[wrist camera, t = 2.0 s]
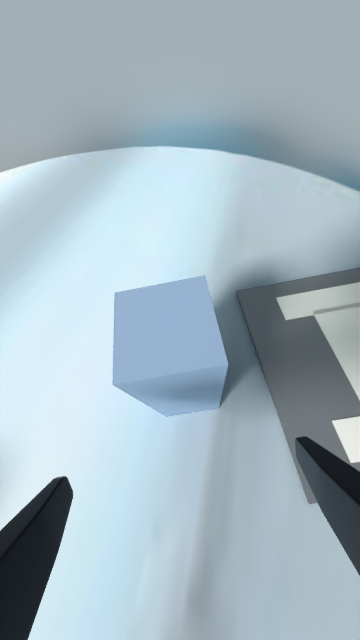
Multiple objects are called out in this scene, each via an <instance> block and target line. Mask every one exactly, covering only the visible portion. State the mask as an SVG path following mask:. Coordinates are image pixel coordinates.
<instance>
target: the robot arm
mask: <svg viewBox="0 0 360 640" xmlns="http://www.w3.org/2000/svg"><path fill="white" fill-rule="evenodd" d="M295 450H296V458H297V461H298V463H299V465H300V467H301V469H302V471H303V473H304V475H305V477H306V480H307V482H308V484H309V486H310V488H311V490H312V492H313V494H314V496H315V498H316V500H317V502H318V504H319V506H320V508H321V510H322V512H323V514H324V516H325V517H326V519H327V521H328V522H329V524H330V526H331V528H332V529H333V531H334V533H335V534H336V536H337V538H338V539H339V541H340V543H341V545H342V546H343V548H344V550H345V551H346V553H347V555H348V556H349V558H350V560H351V562H352V563H353V565H354V567H355V568H356V570H357V572H358V573H359V575H360V471H359V470H357V469H356V468H354V467H353V466H351V465H349V464H348V463H346V462H345V461H343V460H342V459H340V458H339V457H337V456H336V455H334V454H333V453H331V452H330V451H328V450H327V449H325V448H324V447H322V446H321V445H319V444H318V443H316V442H315V441H313V440H312V439H310V438H309V437H307V436H302V437H297V438H295ZM72 499H73V490H72V488H71V485H70V483H69V481H68V478H67V477H66V476H62V477H57V478H54V479H53V480H52V481H51V482H50V483H49V484H48V485H47V486H46V487H45V488H44V489H43V490H42V491H41V492H40V493H39V494H38V495H37V496H36V497H35V498H34V499H32V500H31V501H30V502H29V503H28V504H27V505H26V506H25V507H24V508H23V509H22V510H21V511H20V512H19V513H18V514H17V515H16V516H15V517H14V518H13V519H12V520H11V521H10V522H9V523H8V524H7V525H6V526H5V527H4V528H3V529H2V530H1V531H0V640H28V637H29V634H30V631H31V628H32V625H33V623H34V620H35V617H36V614H37V611H38V608H39V605H40V603H41V600H42V597H43V594H44V591H45V588H46V585H47V582H48V580H49V577H50V574H51V571H52V568H53V565H54V562H55V560H56V556H57V553H58V550H59V547H60V544H61V540H62V537H63V533H64V529H65V525H66V522H67V518H68V514H69V510H70V507H71V503H72Z"/></svg>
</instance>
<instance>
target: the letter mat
mask: <svg viewBox="0 0 360 640" xmlns="http://www.w3.org/2000/svg"><path fill="white" fill-rule="evenodd" d="M236 294H237V297H238V300H239V302H240V305H241V308H242V311H243V314H244V317H245V320H246V323H247V326H248V329H249V332H250V335H251V337H252V340H253V343H254V346H255V349H256V352H257V355H258V358H259V361H260V364H261V367H262V369H263V372H264V375H265V378H266V381H267V384H268V387H269V390H270V393H271V396H272V399H273V401H274V404H275V407H276V410H277V413H278V416H279V419H280V422H281V425H282V428H283V431H284V433H285V436H286V439H287V442H288V445H289V448H290V451H291V454H292V457H293V460H294V463H295V465H296V468H297V471H298V474H299V477H300V480H301V483H302V486H303V489H304V492H305V495H306V498H307V500H308V503H310V504H312V503H318V502H317V500H316V498H315V496H314V494H313V492H312V490H311V488H310V486H309V484H308V482H307V480H306V477H305V475H304V473H303V471H302V469H301V467H300V465H299V463H298V461H297V458H296V450H295V438H297V437H302V436H307V437H309V438H310V439H312V440H313V441H315V442H316V443H318V444H319V445H321V446H322V447H324V448H325V449H327V450H328V451H330V452H331V453H333V454H334V455H336V456H337V457H339V458H340V459H342V460H343V461H345V462H346V463H348V464H349V465H351V466H353V467H354V468H356V469H357V470H359V471H360V268H357V269H351V270H346V271H341V272H335V273H330V274H325V275H320V276H314V277H309V278H304V279H298V280H293V281H288V282H282V283H277V284H272V285H267V286H261V287H256V288H251V289H245V290H240V291H237V292H236Z"/></svg>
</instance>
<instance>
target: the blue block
mask: <svg viewBox="0 0 360 640" xmlns="http://www.w3.org/2000/svg"><path fill="white" fill-rule="evenodd" d="M227 369H228V361H227V357H226V353H225V349H224V346H223V342H222V338H221V334H220V330H219V327H218V323H217V319H216V315H215V311H214V308H213V304H212V300H211V296H210V292H209V289H208V285H207V281H206V277H205V276H199V277H194V278H189V279H184V280H179V281H173V282H168V283H163V284H158V285H153V286H147V287H142V288H137V289H132V290H127V291H122V292H116V293H115V300H114V346H113V385H114V386H116V387H117V388H119V389H121V390H122V391H124V392H126V393H128V394H129V395H131V396H133V397H134V398H136V399H138V400H139V401H141V402H143V403H144V404H146V405H148V406H150V407H151V408H153V409H155V410H156V411H158V412H160V413H161V414H163V415H165V416H166V417H168V416H174V415H180V414H186V413H192V412H198V411H204V410H210V409H216V408H219V406H220V401H221V397H222V392H223V387H224V383H225V378H226V373H227Z"/></svg>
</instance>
